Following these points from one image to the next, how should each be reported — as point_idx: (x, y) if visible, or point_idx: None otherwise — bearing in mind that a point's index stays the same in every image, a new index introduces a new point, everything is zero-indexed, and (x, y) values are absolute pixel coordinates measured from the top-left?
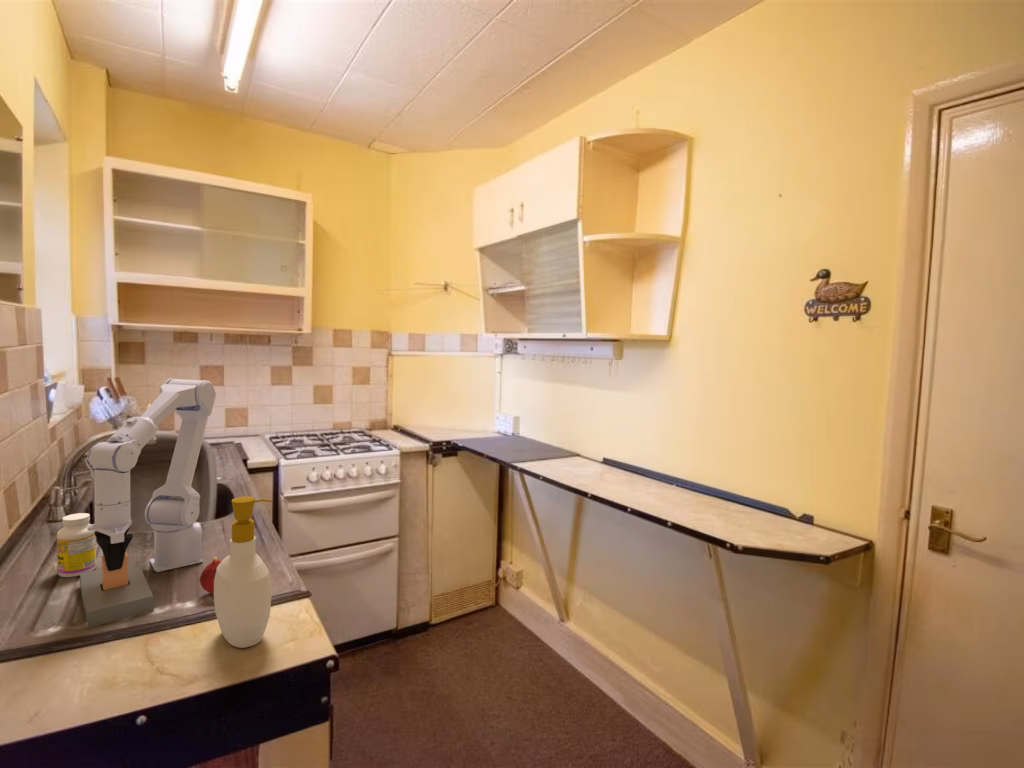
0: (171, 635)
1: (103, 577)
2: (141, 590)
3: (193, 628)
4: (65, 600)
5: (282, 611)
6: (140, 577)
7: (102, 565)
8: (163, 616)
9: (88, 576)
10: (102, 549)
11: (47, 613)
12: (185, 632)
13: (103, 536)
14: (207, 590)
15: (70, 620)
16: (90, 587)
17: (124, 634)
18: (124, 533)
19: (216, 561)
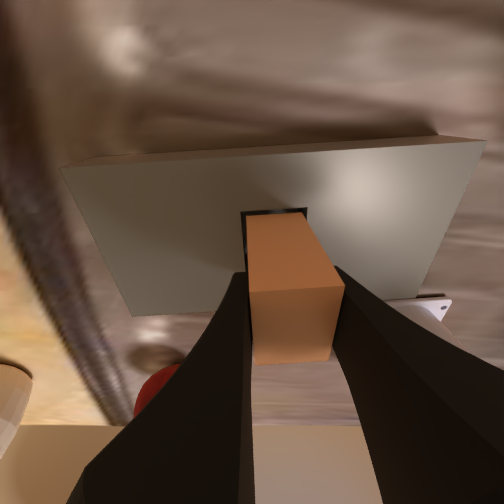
0: (12, 306)
1: (247, 239)
2: (183, 298)
3: (37, 333)
4: (358, 86)
5: (73, 410)
6: None
7: (291, 261)
8: (109, 300)
9: (417, 172)
10: (148, 402)
11: (280, 16)
12: (22, 323)
13: (445, 452)
14: (155, 373)
15: (173, 106)
16: (296, 178)
17: (33, 236)
18: (384, 495)
19: None
